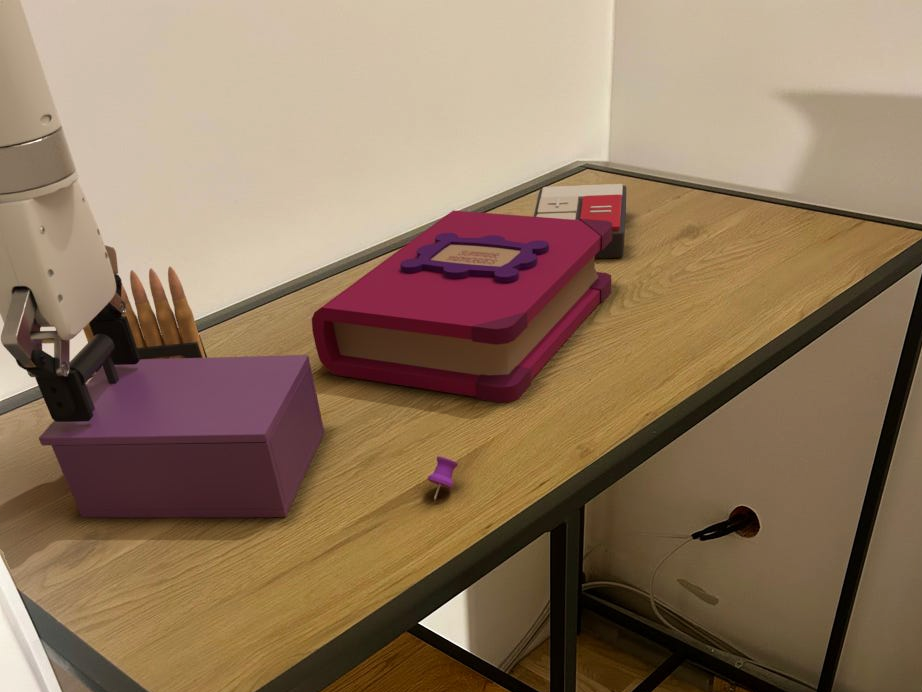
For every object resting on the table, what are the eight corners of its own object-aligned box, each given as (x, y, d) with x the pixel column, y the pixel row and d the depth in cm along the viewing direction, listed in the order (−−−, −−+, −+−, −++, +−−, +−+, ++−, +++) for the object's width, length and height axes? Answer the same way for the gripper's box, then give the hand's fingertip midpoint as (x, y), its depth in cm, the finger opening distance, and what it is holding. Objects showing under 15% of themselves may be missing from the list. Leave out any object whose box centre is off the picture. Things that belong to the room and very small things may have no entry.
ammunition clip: (216, 383, 95) (182, 261, 87) (213, 391, 94) (178, 269, 86) (109, 393, 95) (66, 273, 87) (105, 402, 94) (60, 281, 86)
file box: (81, 517, 78) (50, 445, 74) (142, 435, 88) (118, 367, 84) (285, 517, 76) (266, 443, 71) (324, 432, 86) (310, 362, 81)
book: (320, 374, 95) (305, 299, 90) (447, 270, 113) (440, 202, 108) (513, 404, 87) (508, 324, 82) (616, 287, 105) (617, 215, 100)
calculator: (528, 229, 111) (539, 182, 121) (530, 266, 114) (540, 216, 124) (624, 226, 109) (626, 178, 119) (623, 263, 112) (625, 213, 122)
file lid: (41, 446, 74) (17, 390, 71) (110, 367, 84) (91, 315, 81) (266, 442, 71) (251, 384, 68) (310, 362, 81) (298, 308, 78)
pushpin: (423, 497, 76) (419, 464, 74) (444, 479, 78) (440, 447, 76) (445, 503, 76) (441, 470, 74) (465, 485, 77) (462, 452, 75)
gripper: (23, 133, 73) (99, 345, 85) (-103, 207, 60) (6, 445, 72) (115, 128, 72) (179, 343, 84) (6, 202, 59) (99, 444, 71)
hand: (99, 390), depth 78 cm, fingers open, 9 cm apart
